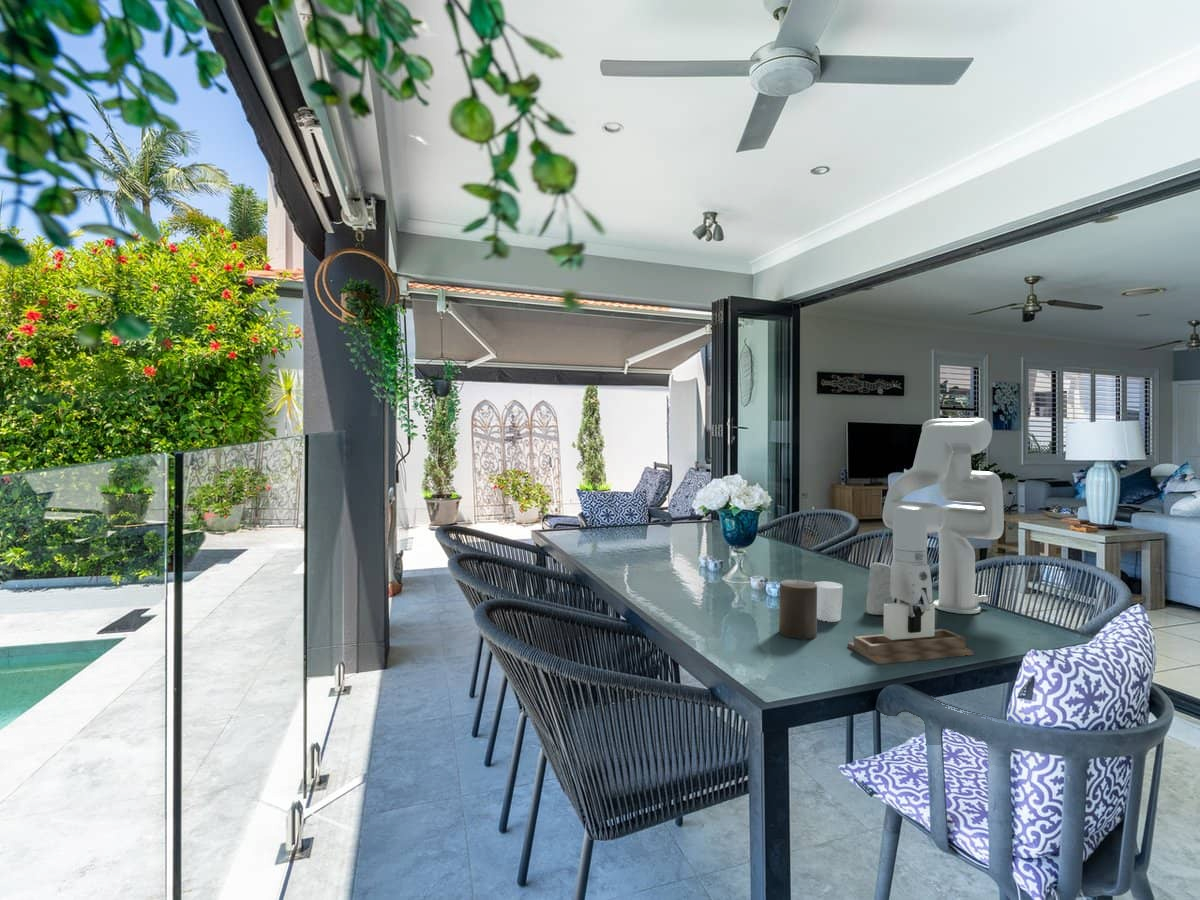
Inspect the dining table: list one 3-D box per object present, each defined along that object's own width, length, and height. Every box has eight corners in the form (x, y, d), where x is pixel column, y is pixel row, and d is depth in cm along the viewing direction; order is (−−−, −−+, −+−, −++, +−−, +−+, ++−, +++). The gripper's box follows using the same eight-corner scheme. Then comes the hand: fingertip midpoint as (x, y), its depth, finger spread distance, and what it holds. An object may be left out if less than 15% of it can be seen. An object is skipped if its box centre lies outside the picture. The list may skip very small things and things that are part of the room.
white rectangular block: (925, 632, 157) (926, 600, 156) (934, 636, 154) (934, 604, 153) (883, 636, 154) (883, 604, 154) (891, 639, 151) (891, 607, 151)
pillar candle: (798, 642, 161) (798, 584, 161) (771, 631, 170) (772, 576, 169) (824, 636, 166) (825, 580, 165) (797, 626, 174) (798, 573, 174)
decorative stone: (905, 612, 185) (905, 563, 185) (908, 618, 180) (908, 567, 179) (865, 609, 189) (865, 560, 188) (867, 615, 183) (867, 565, 183)
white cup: (845, 623, 176) (845, 588, 176) (815, 622, 178) (815, 587, 177) (840, 615, 184) (840, 581, 183) (812, 614, 185) (812, 580, 185)
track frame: (937, 638, 163) (937, 625, 162) (973, 655, 151) (973, 641, 151) (847, 646, 157) (847, 633, 157) (877, 664, 146) (877, 649, 146)
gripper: (947, 562, 146) (946, 639, 147) (900, 549, 162) (900, 619, 163) (919, 563, 145) (918, 641, 145) (875, 550, 161) (874, 620, 161)
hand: (909, 629), depth 154 cm, fingers closed on white rectangular block, 3 cm apart
